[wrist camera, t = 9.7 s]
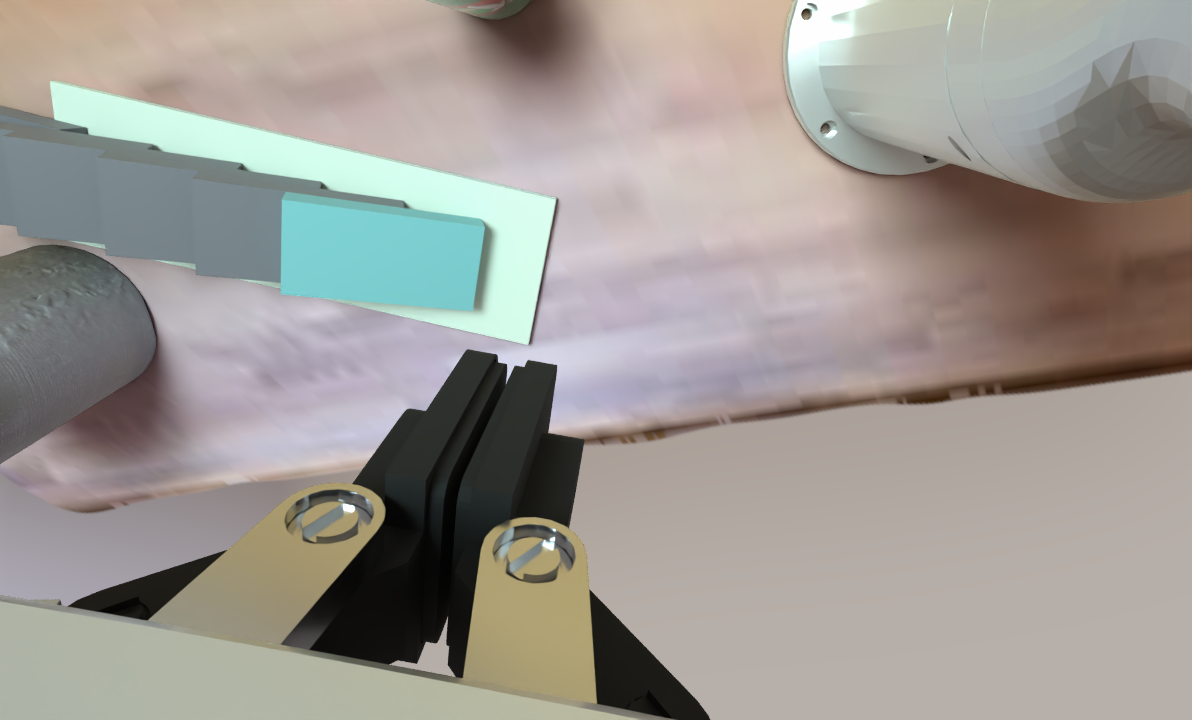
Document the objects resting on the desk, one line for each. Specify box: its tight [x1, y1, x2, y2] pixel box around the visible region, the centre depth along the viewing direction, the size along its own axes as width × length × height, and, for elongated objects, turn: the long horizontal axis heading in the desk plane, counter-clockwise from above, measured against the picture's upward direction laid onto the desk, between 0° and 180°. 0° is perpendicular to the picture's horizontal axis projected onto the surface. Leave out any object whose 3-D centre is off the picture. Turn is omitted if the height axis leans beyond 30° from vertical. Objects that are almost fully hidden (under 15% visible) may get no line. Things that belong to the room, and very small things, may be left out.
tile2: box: [191, 172, 404, 283], centre depth 35 cm, size 2×5×10 cm
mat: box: [50, 81, 557, 345], centre depth 38 cm, size 28×9×1 cm, turn 78°
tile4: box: [2, 130, 242, 244], centre depth 35 cm, size 2×5×10 cm
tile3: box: [96, 151, 322, 264], centre depth 35 cm, size 2×5×10 cm
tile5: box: [0, 122, 154, 226], centre depth 34 cm, size 2×5×10 cm
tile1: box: [281, 192, 485, 311], centre depth 35 cm, size 2×5×10 cm
